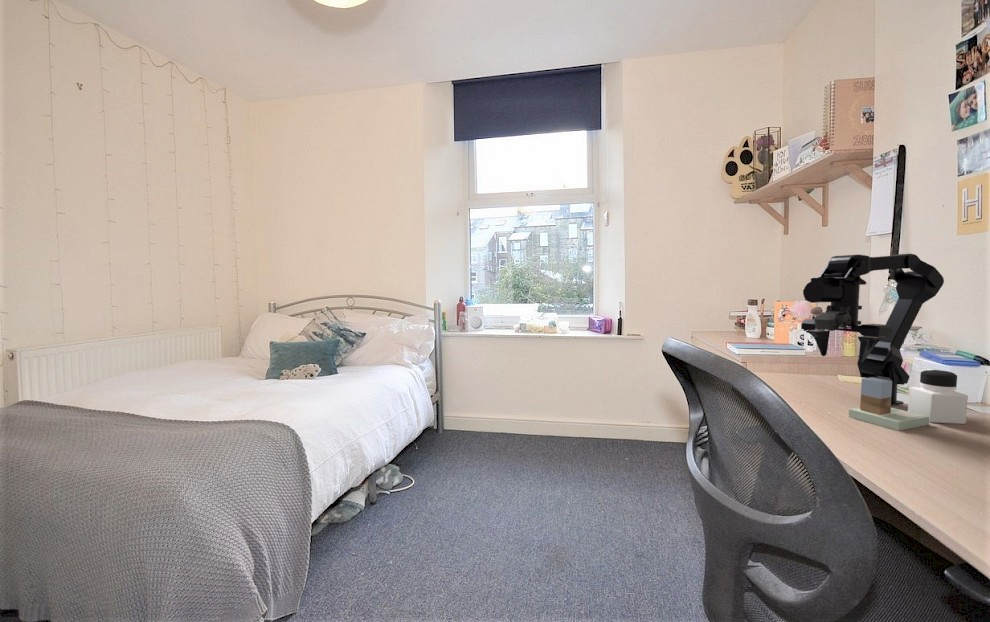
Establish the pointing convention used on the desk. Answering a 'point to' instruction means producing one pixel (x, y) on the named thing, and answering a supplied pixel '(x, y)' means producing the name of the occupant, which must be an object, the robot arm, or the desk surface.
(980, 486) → the desk surface
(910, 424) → the baseplate
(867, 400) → the walnut cube
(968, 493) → the desk surface
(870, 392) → the slate block
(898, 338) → the robot arm
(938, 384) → the medicine bottle
